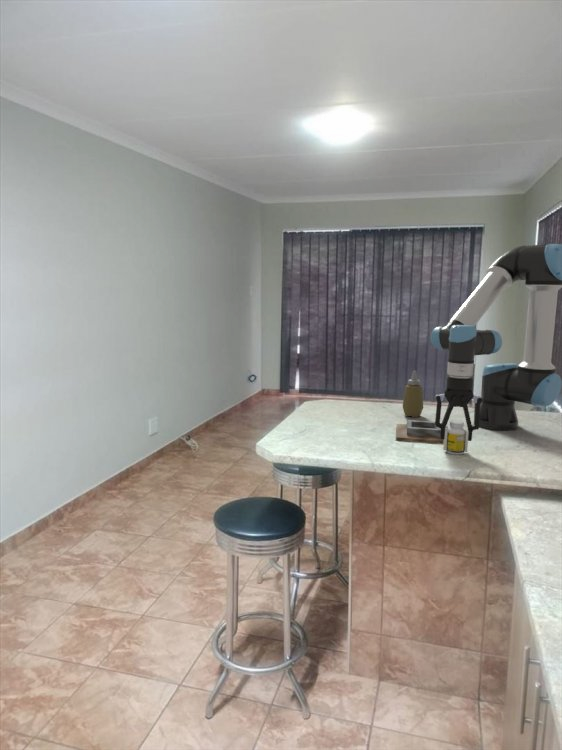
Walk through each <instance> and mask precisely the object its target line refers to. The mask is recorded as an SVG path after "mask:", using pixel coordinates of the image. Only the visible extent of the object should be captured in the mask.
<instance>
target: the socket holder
mask: <svg viewBox="0 0 562 750" xmlns="http://www.w3.org/2000/svg"><path fill="white" fill-rule="evenodd" d="M446 428H447V430H448V428H449V426H446ZM395 431H396V432H395V441H401V440H405V441H406V442H415V441H419V443H420V442H421V443H430V444H432V443H433V444H444V439H441V437H440V433H441V429H440V428H439V427H436V426H435V421H428V420H414V419H406V423H396V430H395ZM405 441H404V442H405Z"/></svg>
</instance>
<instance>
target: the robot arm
mask: <svg viewBox="0 0 562 750" xmlns="http://www.w3.org/2000/svg"><path fill="white" fill-rule="evenodd" d="M518 281H525V283H524V286H525V287H526V289H528V291H529V293H528V304H527V305H528V306H527V314H526V325H525V326H526V327H525V337H524V339H525V340H524V348H523V349H524V350H523V360H522V361H521V362H520V363H519V364H518V363H513V362H509V363H508V362H507V363H506V362H505V363H492V364H491V363H490V364H485V365H484V367H483V370H482V375H481V379H482V380H481V392H480V396H477V395H474V393H473V385H474V379H473V377H472V376H474V367H475V366H474V365H475V356H483V355H484V356H485V355H488V356H489V355H492V354H495V353H497V352H499V351H500V349H501V348H502V346H503V338H502V335H501V334H500V333H499V332H498V331H497V330H494V329H485V330H483V329H482V330H481V329H477V327H476V325H477V323H478V322H479V321H480V320H481V319H482V317H483V316H484V315H485V313H486V312H487V311H488V310H489V308H490V307H492V305H493V303H494V302H495V301H497V298H498V297H499V296H500V295H501V293H502V292H503V291H504V290H505V289H508V288H510V287H511V286H512V284H513V283H515V282H518ZM561 288H562V243H559V244H558V243H546V244H533V245H520V246H516V247H513V248H511V249H509V250H508V251H506V252H505V253H503V254H502V255H500V256H499V257H498V258H497V259H496V260H494V262H492V264H491V265H490V266H489V267H488V268H487V269H486V272H485V276H484V278H483V279H482V280H481V281H480V283H479V284H478V285H477V286H476V288H475V289H474V290H473V291H472V293H471V294H470V295H469V296H468V298H466V300H465V301H464V303H462V305H461V306H460V307H459V309H458V310H457V311H456V312H455V313H454V315H453V316H452V317H451V318H450V319H449V321H448V322H447V323H446V325H445V326H437V327H435V328H433V329H432V331H431V333H430V342H431V345H432V346H433V348H435V349H439V350H442V351H448V359H447V369H446V371H447V372H446V374H447V375H448V376H447V377H446V384H445V385H446V387H445V390H444V392H443V393H441V394H436V395H435V399H436V410H435V419H434V422H435V426H436V427H439V428H440V429H441V433H440V437H441V439H444V443H442V444H443V445H442V446H443V447H442V449H443V451H446V449H447V434H448V430H447V428H446V427H447V426H448V422H449V419H450V418H451V414H452V411H453V409H454V407H460V408H462V409H463V413H464V417H465V418H464V419H465V422H466V426H467V428H464V430H465V447H464V453H467V452H468V445H469V442H472V439H473V432H474V431H476V430H479V429H480V427H481V428H483V429H488V430H493V431H494V430H495V431H497V430H498V431H512V430H517V429H518V428H519V419H518V415H517V411H516V408H515V404H516V403H515V402H517V403H521V404H522V403H524V404H527V405H532V406H534V407H537V406H538V407H543V408H544V407H548V406H551V405H552V404H554V402H556V400H557V399H558V397H559V395H560V394H561V393H560V392H561V390H562V379H561V376H560V375H559V374H557V373H556V366H555V365H554V364H553V363H552V356H553V345H554V333H555V325H556V324H555V323H556V314H557V304H558V303H557V302H558V292H559V291H560V290H561ZM444 398H445V399H446V400H447V402H448V405H447V408H446V411H445V413H444V415H443V418H442V421H441V414H442V402H443V401H444ZM472 400H473V401H472ZM471 401H472V402H473V403H474V407H473V409H474V410H473V411H474V413H473V424H472V420H471V416H470V411H469V407H468V404H469V403H470V402H471ZM446 452H447V451H446Z"/></svg>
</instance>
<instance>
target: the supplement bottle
mask: <svg viewBox="0 0 562 750" xmlns="http://www.w3.org/2000/svg"><path fill="white" fill-rule="evenodd" d="M464 425H465V424H464V421H463V420H462V421H461V420H456V419H453V420H450V421H449V427H448V434H447V449H446V453H448V454H451V455H457V456H458V455H460V456H461V455H464V453H465V452H464V447H465V428H464Z"/></svg>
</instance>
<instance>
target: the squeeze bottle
mask: <svg viewBox="0 0 562 750" xmlns="http://www.w3.org/2000/svg"><path fill="white" fill-rule="evenodd" d="M417 373H418V372H417V371H416V370H413V371H412V374H411V378H410V379H408V380H407V385H405V386H404V393H403V399H402V410H403V413H404V416H405V415H406V417H408V416H412V417H411V418H419V417H421V415H422V412H423V409H424V398H423V396H424V395H423V393H424V392H423V385H421V380H420V379H418V374H417ZM418 416H419V417H418Z"/></svg>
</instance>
